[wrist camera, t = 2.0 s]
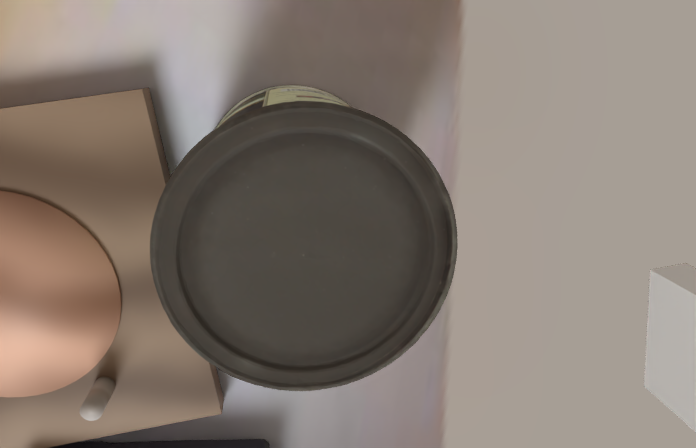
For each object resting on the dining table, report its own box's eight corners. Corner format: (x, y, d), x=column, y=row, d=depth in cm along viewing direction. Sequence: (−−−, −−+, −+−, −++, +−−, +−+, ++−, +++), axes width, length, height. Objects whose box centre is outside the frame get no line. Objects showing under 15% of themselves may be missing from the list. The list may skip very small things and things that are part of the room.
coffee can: (232, 275, 32) (201, 425, 19) (181, 107, 29) (101, 143, 16) (395, 235, 33) (477, 353, 19) (362, 66, 30) (434, 68, 16)
